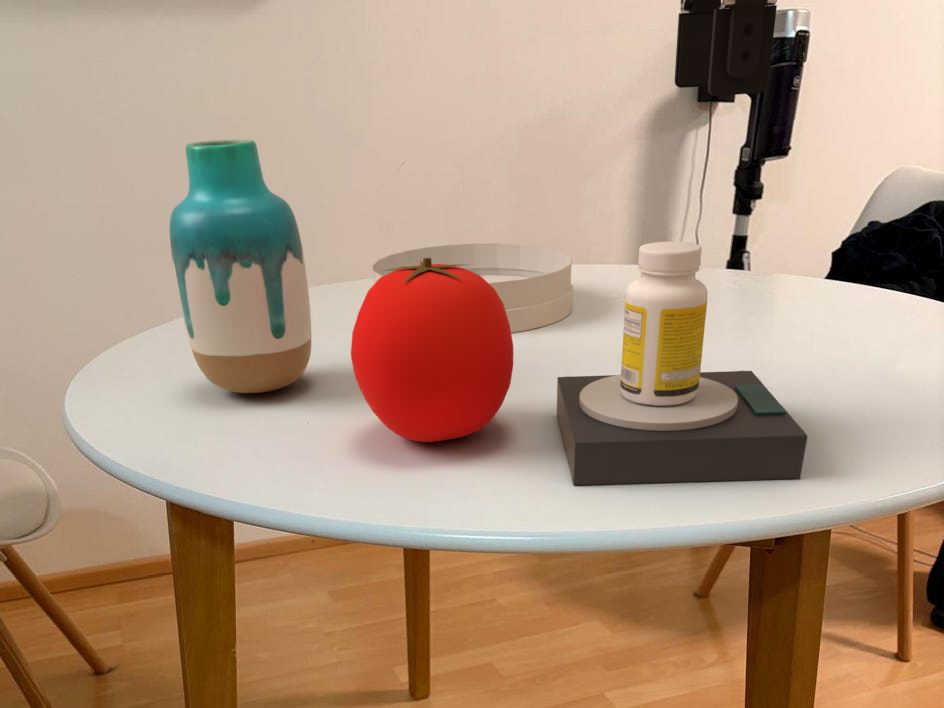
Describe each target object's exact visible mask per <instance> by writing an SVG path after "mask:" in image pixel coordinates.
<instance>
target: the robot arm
mask: <svg viewBox="0 0 944 708" xmlns="http://www.w3.org/2000/svg"><path fill="white" fill-rule="evenodd" d="M777 2H778V0H680V4H679V10H680V13H678V20H677V35H676V51H675V52H676V53H675V67H674V68H675V69H674V85H675V86H676V88H679V89H680V88H681V89H684V88H700V87H707V91H708V93H709V94H710V95H711V96H715V97H722V96H734V95H735V96H736V95H751V94H754V95H755V94H762V93H764V92H765V91H767V88H768V86H769V80H770V71H771V62H772V53H773V44H774V37H775V36H774V34H775V26H776V19H777V18H776V17H777V9H778V8H777V7H778V6H777V5H776V4H777Z"/></svg>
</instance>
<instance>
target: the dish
mask: <svg viewBox="0 0 944 708" xmlns="http://www.w3.org/2000/svg"><path fill="white" fill-rule="evenodd" d="M423 258H431V264H447V265H461V266H457V267H461V268H463V269H466V270H468V271H470V272H473V273H475V274H477V275H479V276H481V277H482V278H483V279H484V280H485V281H487V282H488V283H489V284H490V285H491V286H492V287H493V288H494V289H495V290H496V292H497V294H498V296H499V297H500V299H501V301H502V302H503V304H504V308H505V311H506V314H507V318H508V321H509V324H510V329H511V334H512V333H518V332H525V331H529V330H533V329H539V328H542V327H546V326H550V325H552V324H554V323H558V322H560V321H563V320H564V319H565V318H567V317H568V316H569V315H570V314H571V313H572V308H573V291H574V290H573V287H574V285H573V284H572V264H573V259H572V257H570V255H568V254H567V253H565V252H563V251H560V250H557V249H553V248H549V247H543V246H538V245H530V244H529V245H528V244H516V243H461V244H446V245H438V246H427V247H421V248H416V249H410V250H405V251H401V252H397V253H393V254H389V255H388V256H385V257H382V258H380V259H378V260H377V261H376V262H374V263H373V264H372V273H373V285H374V284H375V283H376V282H377V280H378V279H379V278H381V277H383V276H385V275H387V274H389V273H391V272H393V271H395V270H390V269H395V268H400V267H411V266H419V265H421V263H420V261H422V262H423ZM471 264H472V265H471ZM385 270H389V271H385ZM396 270H397V269H396Z"/></svg>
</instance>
